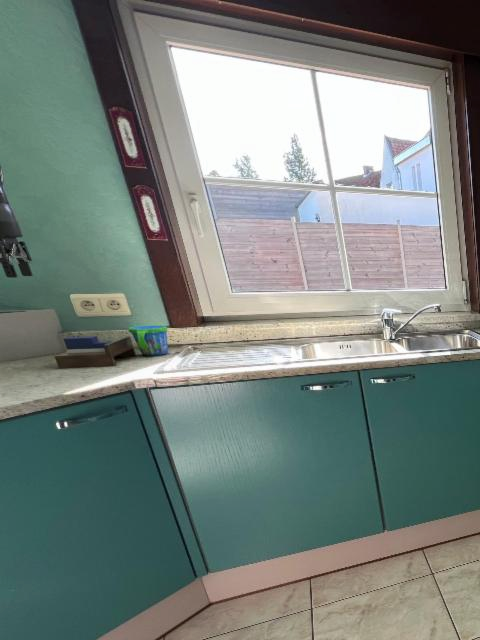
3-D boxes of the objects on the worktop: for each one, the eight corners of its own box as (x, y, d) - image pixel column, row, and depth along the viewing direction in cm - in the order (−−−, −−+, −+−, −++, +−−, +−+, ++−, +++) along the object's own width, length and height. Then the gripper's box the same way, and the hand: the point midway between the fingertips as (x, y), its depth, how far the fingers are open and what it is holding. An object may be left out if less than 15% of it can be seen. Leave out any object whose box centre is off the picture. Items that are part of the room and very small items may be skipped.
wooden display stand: (58, 368, 160) (50, 346, 157) (86, 357, 177) (79, 337, 174) (114, 365, 166) (107, 345, 163) (136, 355, 182) (130, 336, 180)
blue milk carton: (67, 353, 163) (62, 338, 161) (74, 350, 167) (68, 336, 165) (110, 351, 168) (106, 337, 166) (116, 349, 171) (111, 335, 170)
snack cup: (161, 358, 179) (152, 329, 175) (126, 358, 176) (117, 330, 173) (182, 350, 193) (175, 324, 189) (151, 351, 190) (142, 324, 187)
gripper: (-5, 220, 151) (16, 275, 157) (-35, 217, 139) (-11, 277, 145) (28, 221, 154) (48, 276, 160) (2, 219, 142) (24, 278, 148)
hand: (20, 276), depth 153 cm, fingers open, 8 cm apart
